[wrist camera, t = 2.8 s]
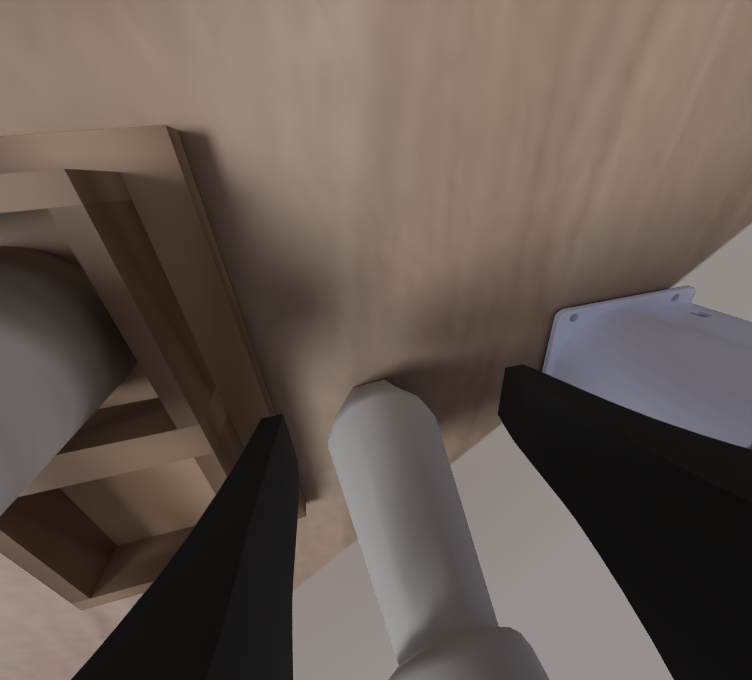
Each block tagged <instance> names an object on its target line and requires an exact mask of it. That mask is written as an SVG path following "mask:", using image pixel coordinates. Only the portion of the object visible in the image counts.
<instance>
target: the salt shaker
mask: <svg viewBox="0 0 752 680" xmlns="http://www.w3.org/2000/svg"><path fill="white" fill-rule="evenodd" d="M328 448H329V451H330V454H331V457H332V460H333V463H334V466H335V469H336V472H337V476H338V479H339V482H340V485H341V488H342V491H343V494H344V497H345V500H346V503H347V506H348V509H349V513H350V516H351V519H352V522H353V525H354V528H355V531H356V534H357V537H358V540H359V543H360V546H361V549H362V553H363V556H364V558H365V562H366V565H367V568H368V571H369V574H370V577H371V580H372V583H373V587H374V590H375V592H376V596H377V599H378V602H379V605H380V608H381V611H382V614H383V617H384V620H385V623H386V627H387V630H388V633H389V636H390V639H391V642H392V645H393V648H394V651H395V654H396V657H397V660H398V664H399V667H398V668H397V670H396V671H395V672H394V673H393V675H392V676H391V677H390V679H389V680H549V678H548V676H547V674H546V672H545V671H544V669H543V667H542V665H541V663H540V661H539V660H538V658H537V656H536V654H535V652H534V650H533V648H532V647H531V646H530V644H529V643H528V642H527V641H526V639H525V638H524V637H523V636H522V634H521V633H519V632H518V631H516V630H514V629H512V628H510V627H499V626H498V623H497V620H496V616H495V613H494V610H493V606H492V603H491V600H490V597H489V593H488V590H487V586H486V583H485V580H484V577H483V573H482V570H481V567H480V563H479V560H478V557H477V553H476V550H475V547H474V543H473V540H472V537H471V533H470V530H469V527H468V524H467V520H466V517H465V514H464V511H463V507H462V504H461V500H460V497H459V494H458V490H457V487H456V484H455V481H454V477H453V474H452V471H451V468H450V464H449V460H448V457H447V454H446V451H445V447H444V444H443V441H442V437H441V434H440V431H439V427H438V424H437V421H436V417H435V415H434V414H433V413H432V412H431V411H430V409H429V408H428V407H427V406H426V405H425V404H424V402H423V401H422V400H421V399H420V398H419V397H418V396H417V395H414V394H412V393H410V392H407V391H405V390H403V389H400V388H398V387H396V386H394V385H392V384H391V383H389V382H388V381H386V380H385V379H384V380H380V381H376V382H372V383H368V384H364V385H360V386H357V387H353V389H352V391H351V392H350V394H349V396H348V397H347V399H346V400H345V402H344V404H343V405H342V407H341V409H340V410H339V412H338V414H337V415H336V417H335V418H334V421H333V425H332V428H331V431H330V435H329V439H328Z"/></svg>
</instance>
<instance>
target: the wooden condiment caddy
mask: <svg viewBox="0 0 752 680" xmlns="http://www.w3.org/2000/svg"><path fill="white" fill-rule="evenodd" d="M275 415H276V414H275V411H274V408H273V405H272V403H271V400H270V397H269V394H268V391H267V388H266V385H265V382H264V379H263V376H262V374H261V371H260V368H259V365H258V362H257V359H256V356H255V353H254V350H253V348H252V345H251V342H250V339H249V336H248V333H247V330H246V327H245V324H244V321H243V319H242V316H241V313H240V310H239V307H238V304H237V301H236V298H235V295H234V293H233V290H232V287H231V284H230V281H229V278H228V275H227V272H226V269H225V266H224V264H223V261H222V258H221V255H220V252H219V249H218V246H217V243H216V240H215V238H214V235H213V232H212V229H211V226H210V223H209V220H208V217H207V214H206V211H205V209H204V206H203V203H202V200H201V197H200V194H199V191H198V188H197V185H196V183H195V180H194V177H193V174H192V171H191V168H190V165H189V162H188V159H187V156H186V154H185V151H184V148H183V145H182V142H181V139H180V136H179V133H178V130H176V129H174V128H171V127H169V126H167V125H158V126H144V127H129V128H115V129H101V130H86V131H72V132H57V133H43V134H29V135H14V136H0V553H2V554H3V555H4V556H6V557H7V558H9V559H10V560H11V561H13V562H14V563H16V564H17V565H18V566H20V567H21V568H23V569H24V570H25V571H27V572H28V573H30V574H31V575H32V576H34V577H35V578H37V579H38V580H39V581H41V582H42V583H44V584H45V585H46V586H48V587H49V588H51V589H52V590H53V591H55V592H56V593H58V594H59V595H60V596H62V597H63V598H65V599H66V600H67V601H69V602H70V603H72V604H73V605H74V606H76V607H77V608H79V609H80V610H85V609H88V608H92V607H95V606H99V605H103V604H106V603H110V602H113V601H117V600H120V599H124V598H127V597H131V596H135V595H138V594H142V593H145V591H146V590H147V589H148V588H149V587H150V585H151V584H152V583H153V581H154V580H155V579H156V578H157V576H158V575H159V574H160V572H161V571H162V570H163V568H164V567H165V566H166V565H167V563H168V562H169V561H170V559H171V558H172V557H173V555H174V554H175V553H176V551H177V550H178V549H179V547H180V546H181V544H182V543H183V542H184V540H185V539H186V538H187V536H188V535H189V533H190V532H191V531H192V529H193V528H194V526H195V525H196V523H197V522H198V520H199V519H200V517H201V516H202V514H203V513H204V511H205V510H206V508H207V507H208V505H209V504H210V503H211V501H212V500H213V498H214V497H215V495H216V494H217V492H218V490H219V489H220V487H221V486H222V484H223V482H224V481H225V479H226V478H227V476H228V474H229V473H230V471H231V469H232V468H233V466H234V464H235V463H236V461H237V459H238V458H239V456H240V454H241V453H242V451H243V449H244V447H245V446H246V444H247V442H248V440H249V439H250V437H251V435H252V433H253V431H254V430H255V428H256V426H257V424H258V422H259V421H260V420H261V418H266V417H271V416H275ZM305 516H306V501H305V498H304V495H303V492H302V489H301V486H300V484H299V503H298V518H301V517H305Z"/></svg>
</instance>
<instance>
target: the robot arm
mask: <svg viewBox="0 0 752 680" xmlns="http://www.w3.org/2000/svg"><path fill="white" fill-rule="evenodd" d="M694 294H695V289H694V288H693V287H690V286H683V287H677V288H672V289H666V290H661V291H656V292H650V293H645V294H640V295H634V296H629V297H624V298H618V299H613V300H608V301H602V302H597V303H592V304H586V305H581V306H576V307H570V308H565V309H562V310H560V311H559V312H557V314H556V315H555V317H554V321H553V326H552V330H551V334H550V339H549V343H548V347H547V352H546V356H545V360H544V364H543V369H542V372H541V371H538V370H536V369H533V368H531V367H528V366H525V365H517V366H512V367H507V368H505V373H504V379H503V385H502V392H501V398H500V404H499V410H498V416H499V417H500V419H501V421H502V422H503V424H504V426H505V427H506V429H507V431H508V432H509V434H510V435H511V437H512V439H513V440H514V442H515V443H516V444H517V446H518V447H519V448H520V449H521V451H522V452H523V453H524V454H525V456H526V457H527V458H528V459H529V461H530V462H531V463H532V465H533V466H534V467H535V468H536V469H537V471H538V472H539V473H540V475H541V476H542V477H543V478H544V479H545V481H546V482H547V483H548V484H549V486H550V487H551V488H552V489H553V491H554V492H555V493H556V494H557V496H558V497H559V498H560V499H561V501H562V502H563V503H564V504H565V506H566V507H567V508H568V510H569V511H570V512H571V514H572V515H573V516H574V518H575V519H576V520H577V522H578V524H579V525H580V526H581V528H582V529H583V531H584V532H585V534H586V535H587V537H588V538H589V540H590V541H591V543H592V544H593V546H594V547H595V549H596V550H597V552H598V553H599V555H600V556H601V558H602V560H603V561H604V563H605V564H606V566H607V567H608V569H609V570H610V572H611V574H612V575H613V577H614V578H615V580H616V581H617V583H618V585H619V586H620V588H621V589H622V591H623V592H624V594H625V596H626V598H627V599H628V601H629V603H630V604H631V606H632V608H633V609H634V611H635V613H636V614H637V616H638V618H639V619H640V621H641V623H642V624H643V626H644V628H645V629H646V631H647V633H648V634H649V636H650V638H651V639H652V641H653V643H654V645H655V646H656V648H657V650H658V652H659V654H660V655H661V657H662V659H663V661H664V663H665V664H666V666H667V668H668V670H669V672H670V673H671V675H672V677H673V679H674V680H752V322H749V321H746V320H743V319H740V318H737V317H733V316H730V315H727V314H724V313H721V312H717V311H714V310H711V309H708V308H705V307H701V306H698V305H695V304H692V303H691V301H692V299H693V297H694ZM571 316H572V317H571ZM298 503H299V479H298V460H297V457H296V454H295V451H294V448H293V445H292V441H291V438H290V435H289V432H288V429H287V426H286V423H285V419H284V416H283V414H280V415H275V416H271V417H266V418H261V420H260V421H259V422H258V424H257V426H256V428H255V430H254V431H253V433H252V435H251V437H250V439H249V440H248V442H247V444H246V446H245V447H244V449H243V451H242V453H241V454H240V456H239V458H238V459H237V461H236V463H235V464H234V466H233V468H232V469H231V471H230V473H229V474H228V476H227V478H226V479H225V481H224V482H223V484H222V486H221V487H220V489H219V490H218V492H217V494H216V495H215V497H214V498H213V500H212V501H211V503H210V504H209V505H208V507H207V508H206V510H205V511H204V513H203V514H202V516H201V517H200V519H199V520H198V522H197V523H196V525H195V526H194V528H193V529H192V531H191V532H190V533H189V535H188V536H187V538H186V539H185V540H184V542H183V543H182V544H181V546H180V547H179V549H178V550H177V551H176V553H175V554H174V555H173V557H172V558H171V559H170V561H169V562H168V563H167V565H166V566H165V567H164V568H163V570H162V571H161V572H160V574H159V575H158V576H157V578H156V579H155V580H154V581H153V583H152V584H151V585H150V587H149V588H148V589H147V590H146V591H145V593H144V594H143V595H142V596H141V598H140V599H139V600H138V601H137V603H136V604H135V605H134V606H133V607H132V609H131V610H130V611H129V612H128V614H127V615H126V616H125V617H124V619H123V620H122V621H121V622H120V623H119V625H118V626H117V627H116V628H115V629H114V631H113V632H112V633H111V634H110V635H109V637H108V638H107V639H106V640H105V641H104V643H103V644H102V645H101V646H100V647H99V648H98V650H97V651H96V652H95V653H94V654H93V655H92V657H91V658H90V659H89V660H88V661H87V662H86V663H85V665H84V666H83V667H82V668H81V669H80V670H79V671H78V672H77V673H76V675H75V676H74V677H73V678H72V679H71V680H293V652H292V593H293V574H294V560H295V546H296V532H297V518H298Z"/></svg>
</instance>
